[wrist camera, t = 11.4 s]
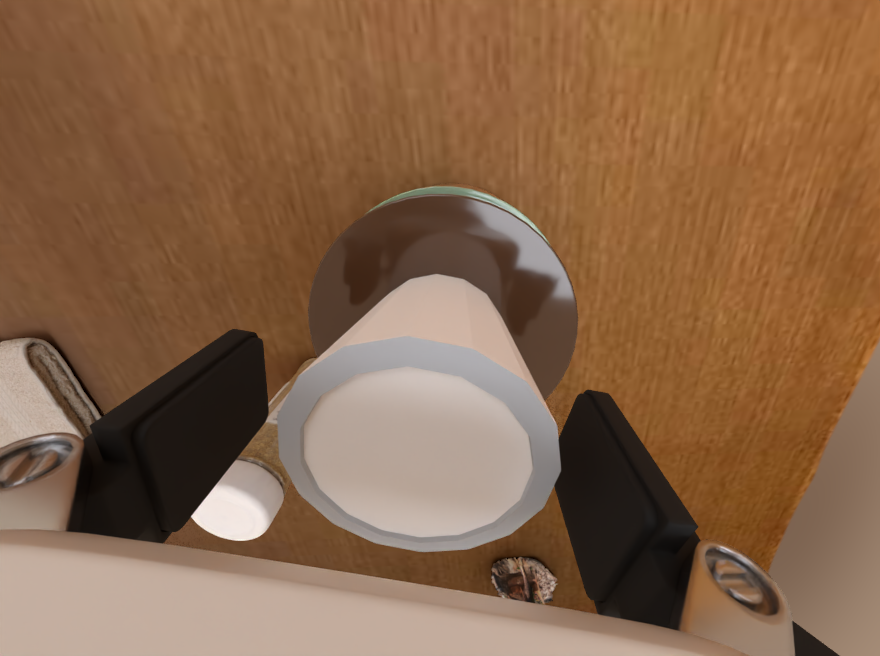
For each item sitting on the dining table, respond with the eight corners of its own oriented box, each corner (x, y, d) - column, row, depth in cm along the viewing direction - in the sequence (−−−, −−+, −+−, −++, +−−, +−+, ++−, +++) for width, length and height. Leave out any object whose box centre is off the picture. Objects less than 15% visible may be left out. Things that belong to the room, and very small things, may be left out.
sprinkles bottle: (289, 367, 29) (163, 500, 17) (330, 348, 28) (226, 477, 16) (319, 404, 31) (222, 552, 19) (358, 388, 30) (283, 534, 18)
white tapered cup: (349, 258, 13) (237, 336, 7) (526, 258, 12) (587, 341, 6) (369, 399, 16) (303, 548, 9) (512, 404, 15) (545, 565, 9)
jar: (346, 217, 23) (249, 247, 13) (510, 156, 21) (553, 134, 11) (406, 356, 28) (369, 462, 18) (547, 319, 26) (602, 416, 15)
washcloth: (53, 474, 38) (20, 497, 35) (-57, 337, 31) (-109, 353, 28) (143, 473, 37) (117, 497, 34) (51, 330, 30) (8, 346, 27)
